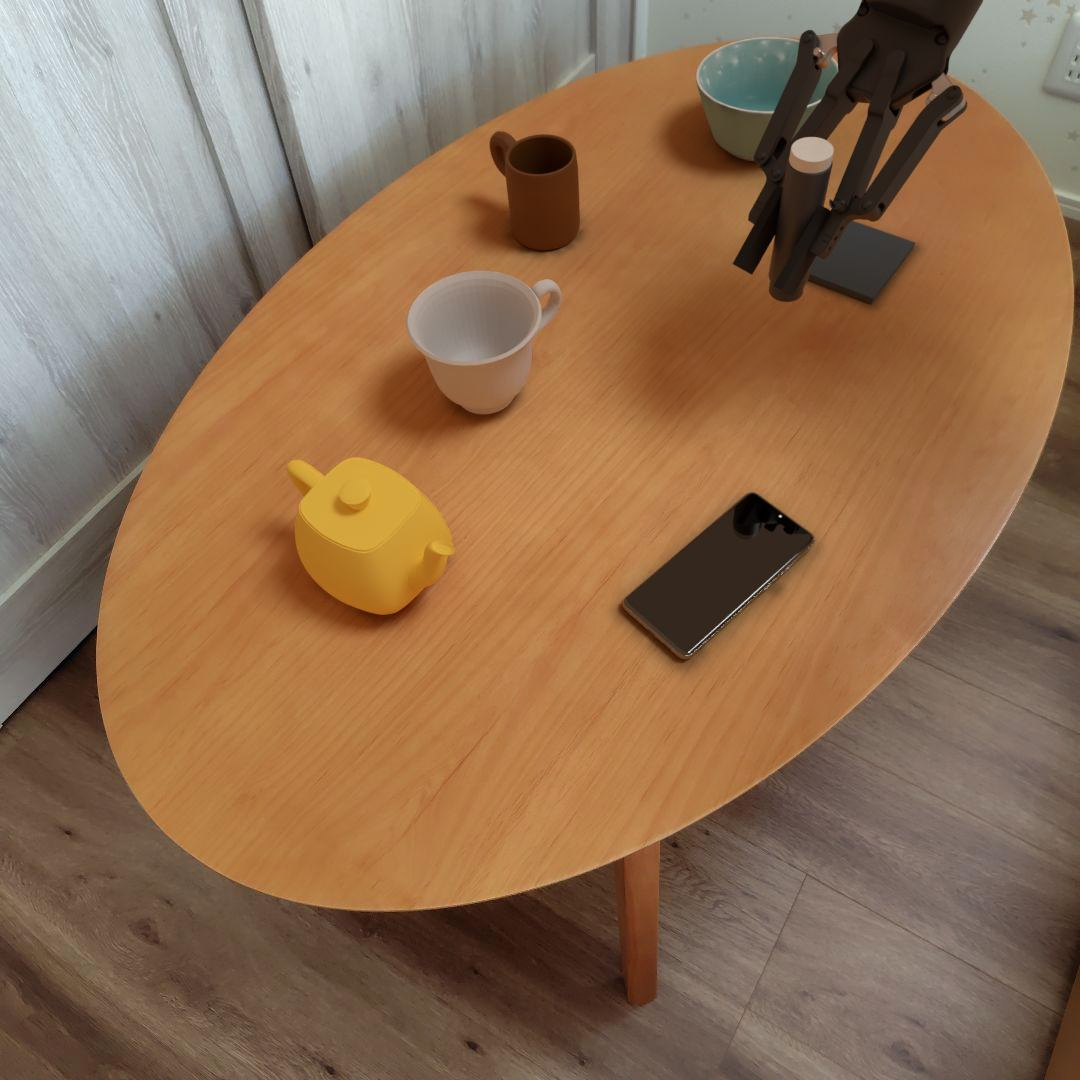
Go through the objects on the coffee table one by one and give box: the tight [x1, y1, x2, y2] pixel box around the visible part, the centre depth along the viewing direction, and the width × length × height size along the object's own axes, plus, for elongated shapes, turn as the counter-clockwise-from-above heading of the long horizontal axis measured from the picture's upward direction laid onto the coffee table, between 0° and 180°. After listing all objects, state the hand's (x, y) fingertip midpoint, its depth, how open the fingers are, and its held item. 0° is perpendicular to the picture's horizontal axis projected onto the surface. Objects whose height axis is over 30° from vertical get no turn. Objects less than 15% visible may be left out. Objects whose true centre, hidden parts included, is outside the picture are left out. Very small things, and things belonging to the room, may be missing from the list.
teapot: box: [286, 456, 456, 616], centre depth 76 cm, size 18×11×11 cm, turn 53°
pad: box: [808, 220, 916, 305], centre depth 98 cm, size 10×10×1 cm
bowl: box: [695, 36, 838, 163], centre depth 108 cm, size 16×16×8 cm
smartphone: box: [622, 491, 816, 660], centre depth 77 cm, size 7×1×16 cm
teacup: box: [405, 270, 563, 415], centre depth 87 cm, size 12×15×10 cm
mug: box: [489, 130, 581, 251], centre depth 101 cm, size 12×8×9 cm, turn 41°
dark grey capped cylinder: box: [768, 137, 835, 303], centre depth 73 cm, size 3×3×13 cm
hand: (762, 279), depth 74 cm, fingers closed on dark grey capped cylinder, 3 cm apart
